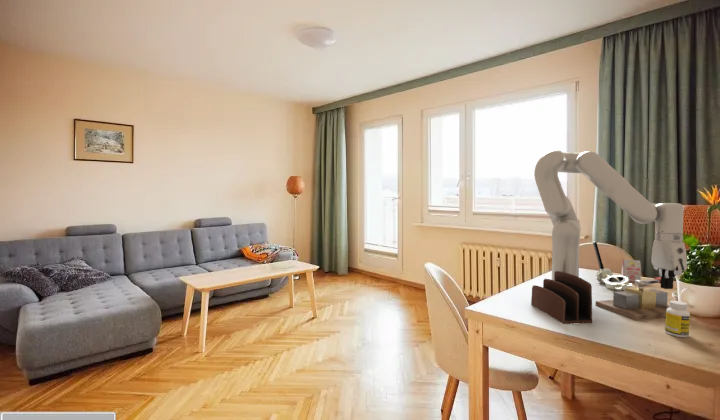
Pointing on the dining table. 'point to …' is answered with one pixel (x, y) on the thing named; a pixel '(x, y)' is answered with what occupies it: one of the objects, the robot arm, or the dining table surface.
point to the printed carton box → (631, 270)
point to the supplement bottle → (677, 319)
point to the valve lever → (648, 281)
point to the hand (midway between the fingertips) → (666, 288)
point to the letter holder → (564, 298)
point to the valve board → (635, 311)
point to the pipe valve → (639, 298)
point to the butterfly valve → (610, 275)
